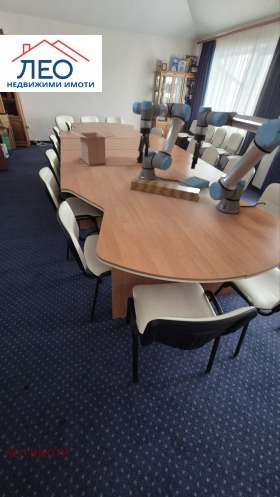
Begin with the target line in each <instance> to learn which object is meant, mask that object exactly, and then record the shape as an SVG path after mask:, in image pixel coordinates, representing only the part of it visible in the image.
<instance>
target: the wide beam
mask: <svg viewBox="0 0 280 497" xmlns="http://www.w3.org/2000/svg"><path fill="white" fill-rule="evenodd" d="M130 190H133V191H138V192H142V193H148V194H154V195H160V196H164V197H169V198H176V199H180V200H185V201H190V202H196V203H197V202H198V199H199V195H200V191H201V189H196V188H191V187H185V186H179V184H173V183H167V182H162V181H156V180H145V179H141V178H140V177H134V178H133V179H132V180H130Z"/></svg>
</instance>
